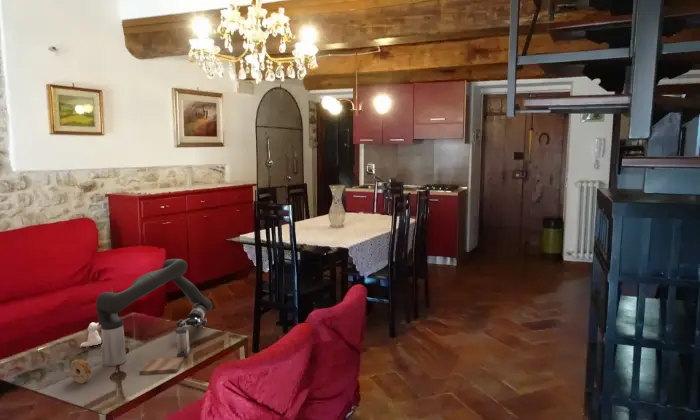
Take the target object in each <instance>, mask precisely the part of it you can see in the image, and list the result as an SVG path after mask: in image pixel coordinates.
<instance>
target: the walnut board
mask: <svg viewBox="0 0 700 420" xmlns="http://www.w3.org/2000/svg"><path fill="white" fill-rule="evenodd" d="M184 362H185V357H177V356H176V357H164V358H149V359H147V361H146V362H145V363H144V365H143V366H142V368H140V370H139V375H141V376H142V375H151V374H152V375H153V374H169V373H170V374H171V373H177V372H179V369H180V368H181V366H182V365H183V363H184Z"/></svg>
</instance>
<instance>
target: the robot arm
mask: <svg viewBox="0 0 700 420" xmlns="http://www.w3.org/2000/svg"><path fill="white" fill-rule="evenodd" d="M187 271H188V263H187V261H185V260H184V259H182V258H170V259H166V260H165V261H164V262H163V264H162V268H160V269H156V270H153V271H149V272H147V273H145V274H143V275H142V274H141V276H138V277H137V278H135V279H134V280H133V282H132V283H131V285H130V287H128V288H126V289H125V290H122V291H120V292H110V291H103V292H101V293H100V294H99V295H98V297H97V298H96V302H95V303H96V315H97V319H98V320H97V321H98V323H99V326H100V329H101V330H100V331H101V339H102V340H101V341H102V342H101V343H102V344H101V346H100V348H101V359H102V366H107V367H115V366H120V365H122V364H124V363H125V362H127V354H126V344H125V342H126V341H125V332H124V321H123V318H121V316H119V315H118V313H120V312H122V311H123V310H124V309H126V308H128V307H129V306H130V305H131V304H132V303H134V302H136V301H137V300H139V299H141V298H142V297H145V296H146V295H148V294H150V293H152V292H153V291H155V290H156V289H158V288H159V287H161V286H163V285H165V284H166V283H168V282H170V281H172V282H173V283H174V284H175V285H176V286H177V288H179V289H180V290H181V291H182V292H183V294H184V295H185V297H186V298H187V299H188V301H189V302H190V303H191V304H193V305H192V309H191V311H190V313H189V314H188V315H187V317H186V318H185V319H183V318H180V319H178V320H177V322H176V327H177V328H178V327H188V328H189V327H190V326H191V327H196V330H197V329H198V330H199V329H200V328H201V327H202V326H203V327H206V325H207V322H208V321H207V316H206V317H205V315H206V314H207V313H208V312H211V310H212V308H213V303H212V301H211V300H210V299H209V298H207V296H205V295H203V294H202V293H201V292H200V290H199V288H197V286H196V284H194V283H193V282H192V281H190V280H189V279H188V278H186V277H184V276H183V275H184V274H185V273H186V272H187ZM177 328H176V329H177Z"/></svg>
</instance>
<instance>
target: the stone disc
mask: <svg viewBox="0 0 700 420" xmlns="http://www.w3.org/2000/svg"><path fill="white" fill-rule="evenodd" d="M69 375H70V377H71V378H72V380H73V381H74V382H76V383H78V384H85V383H86V382H88V381H89V380H90V379H91V377H92V371H91V367H90V364H89V362H88V361H86V360H85V359H82V358H77V359H75V360H73V361H71V363H70V371H69Z"/></svg>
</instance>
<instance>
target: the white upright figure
mask: <svg viewBox="0 0 700 420" xmlns="http://www.w3.org/2000/svg"><path fill="white" fill-rule="evenodd" d="M98 326H100V323H99V322H95V321H94V322H91V323H89V325H88V327H87V331H88V333H87V334H88V335H87V341H84V342H82V343H80V347H81V346H92V345H98V344H101V343H103V342H102V337H101V336H100V334H99V332H98V330H97V329H98ZM98 346H99V345H98Z"/></svg>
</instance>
